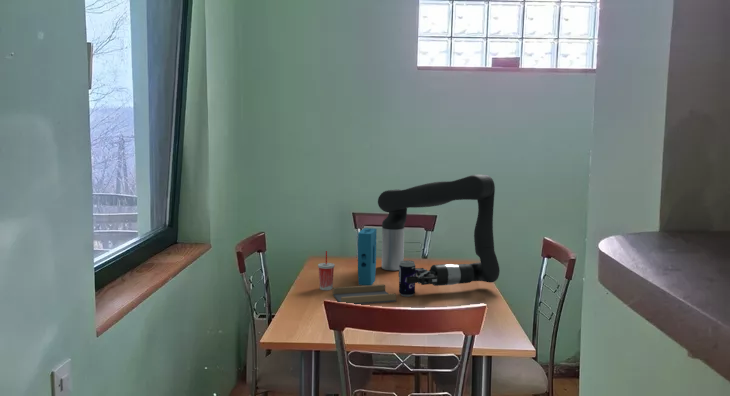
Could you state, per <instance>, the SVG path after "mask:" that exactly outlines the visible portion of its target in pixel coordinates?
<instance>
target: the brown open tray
mask: <svg viewBox="0 0 730 396" xmlns="http://www.w3.org/2000/svg"><path fill="white" fill-rule="evenodd" d="M332 295H333V297H334V298H335V299H336V300H337V302H338V303H339V302H346V303H354V304H355V305H366V304H367V305H370V304H380V303H394V302H395V303H396V302H397V294H396V293H393V292H392V293H388V291H386V284H372V285H368V286H367V285H355V286H353V285H352V286H339V287H333V288H332Z"/></svg>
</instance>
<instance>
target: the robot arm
mask: <svg viewBox="0 0 730 396" xmlns="http://www.w3.org/2000/svg"><path fill="white" fill-rule="evenodd" d="M495 191H496V187H495V182H494V179H493V178H492V177H491V176H490V175H487V174H472V175H468V176H465V177H462V178H459V179H456V180H452V181H451V180H450V181H447V180H446V181H443V180H442V181H434V182H429V183H428V182H426V183H424V184H419V185H415V186H412V187H409V188H406V189H388V190H385V191H383V192H382V193H380V194H379V196H378V198H377V205H378V207H379V209H380V210H382V211H383V212H385V213H388V215H387V217H386V218H384V220H383V221H382V224H381V230H382V231H381V269H382V270H385V271H399V265H400V263H401V261H404V260H405V258H404V257H405V252H404V251H405V225H406V222H407V217H408V213H407V212H408V208H413V209H414V208H415V209H417V208H429V207H436V206H437V207H438V206H442V205H445V204H447V203H450V202H454V201H463V200H464V201H465V200H467V201H468V200H470V201H477V207H478V209H477V210H478V211H477V218H476V222H475V226H474V232H473V239H474V241H473V242H474V251H475V255H477V256H478V257H479V262H472V263H458V264H453V263H442V264H432V265H431V266H430V269H429V270H427V269H425V268H424V267H419V268H418V267H417V268H416V267H415V276H413V277H407V281H406V282H407V283H415V284H417V285H418V284H419V285H421V286H423V285H424V286H425V285H433V286H435V287H439V286H453V285H457V284H458V285H459V284H460V285H461V284H469V283H472V282H484V283H489V284H491V283H494V282H496V281H497V280H498V279H499V276H500V265H499V261H498V259H497V255H496V251H495V241H494V205H495V195H496V192H495Z"/></svg>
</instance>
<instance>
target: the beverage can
mask: <svg viewBox="0 0 730 396" xmlns="http://www.w3.org/2000/svg"><path fill="white" fill-rule="evenodd" d="M415 268H416V264H415V261H413V260H408V259H407V260H406V259H404V261H401V263H400V265H399V270H398V293H399V294H400V295H401V296H402V297H405V298H406V297H413V296H414V295H415V294H416V283H407V282H406V281H407V277H413V276H415Z"/></svg>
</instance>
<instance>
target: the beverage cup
mask: <svg viewBox="0 0 730 396" xmlns="http://www.w3.org/2000/svg"><path fill="white" fill-rule="evenodd" d="M317 267H318V276H319V277H318V279H319V290H321V291H331V290H333V288H334V287H333V286H334V285H333V284H334V273H335V272H334V270H335V269H334V268H335V263H331V262H328V251H327V250H326V251H325V262H321V263H318V264H317Z"/></svg>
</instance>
